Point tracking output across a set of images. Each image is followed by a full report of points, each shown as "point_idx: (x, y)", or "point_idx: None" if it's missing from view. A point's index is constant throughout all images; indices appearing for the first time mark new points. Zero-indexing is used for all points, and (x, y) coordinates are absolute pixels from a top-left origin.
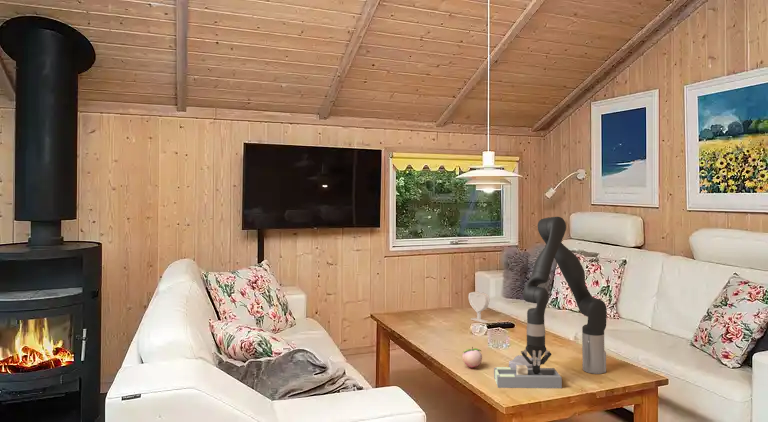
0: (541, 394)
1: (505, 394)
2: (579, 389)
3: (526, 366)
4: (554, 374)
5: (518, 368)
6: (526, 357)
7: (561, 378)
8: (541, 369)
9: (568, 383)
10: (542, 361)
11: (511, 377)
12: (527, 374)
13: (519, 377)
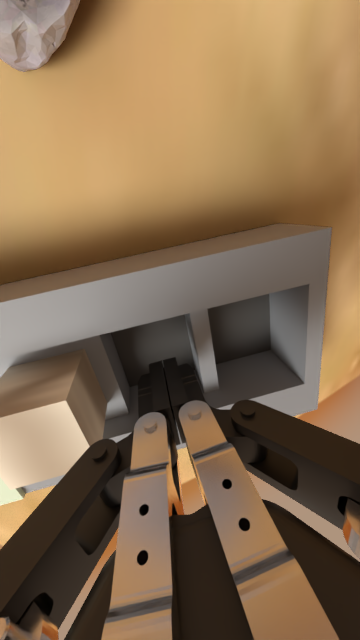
0: (181, 454)
1: (24, 503)
2: (354, 357)
3: (80, 430)
4: (293, 304)
5: (15, 486)
6: (61, 596)
7: (312, 404)
8: (213, 295)
9: (334, 293)
10: (253, 471)
11: (2, 498)
12: (103, 420)
13: (57, 482)
